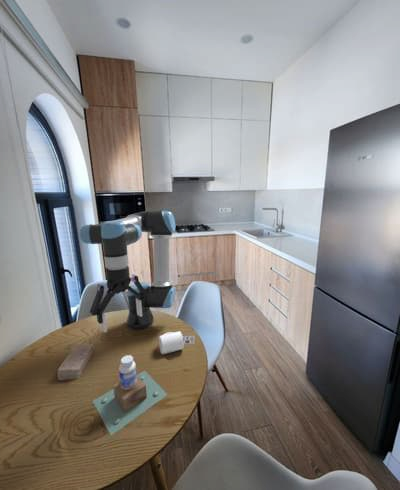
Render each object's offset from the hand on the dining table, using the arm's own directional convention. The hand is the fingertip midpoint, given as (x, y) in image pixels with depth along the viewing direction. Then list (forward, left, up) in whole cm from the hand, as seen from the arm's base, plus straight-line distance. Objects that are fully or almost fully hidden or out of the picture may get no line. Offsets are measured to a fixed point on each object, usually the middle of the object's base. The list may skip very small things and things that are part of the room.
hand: (123, 322), depth 79 cm
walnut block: (+3, +8, -24) cm, 26 cm away
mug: (-24, -6, -26) cm, 36 cm away
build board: (+3, +8, -25) cm, 27 cm away
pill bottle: (+3, +7, -19) cm, 21 cm away
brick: (+11, -25, -26) cm, 38 cm away
